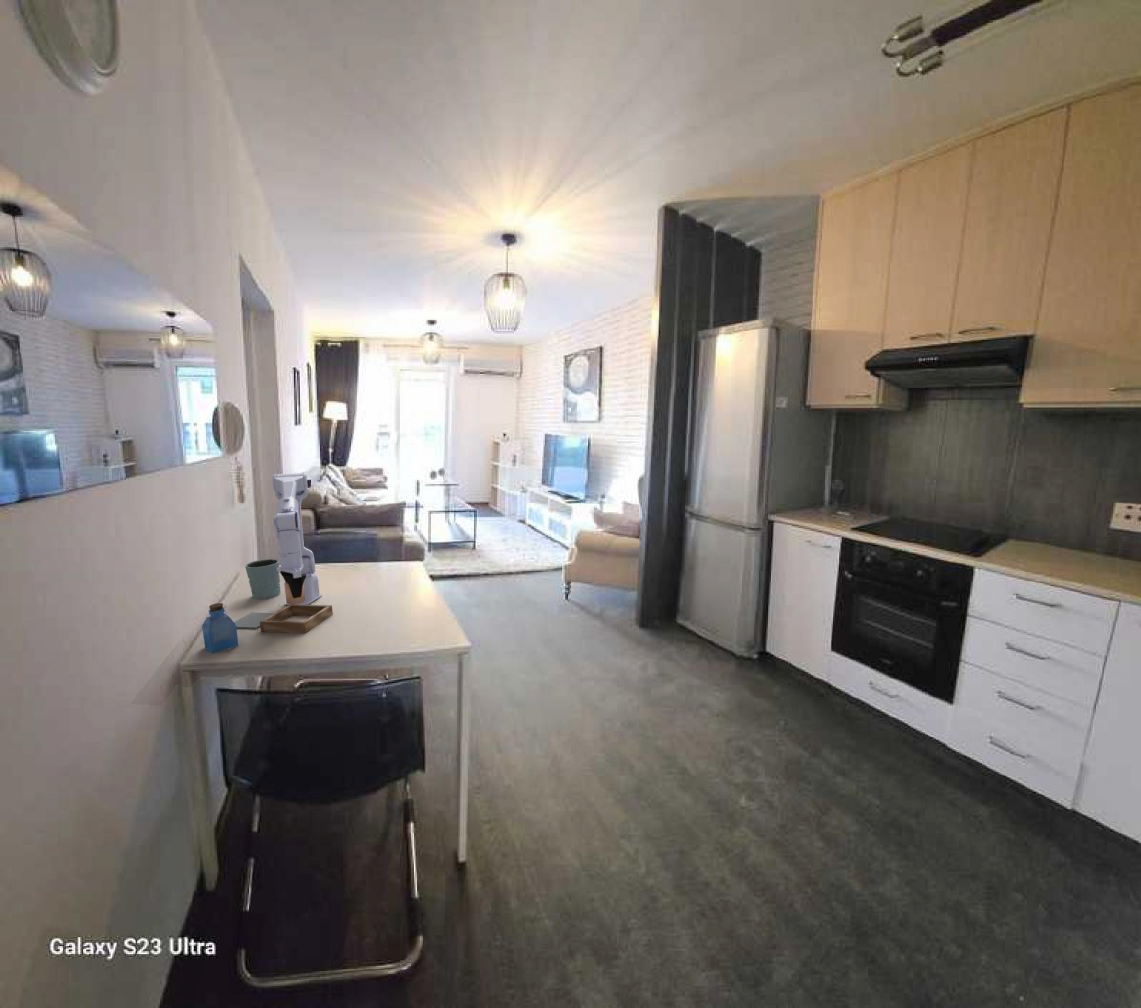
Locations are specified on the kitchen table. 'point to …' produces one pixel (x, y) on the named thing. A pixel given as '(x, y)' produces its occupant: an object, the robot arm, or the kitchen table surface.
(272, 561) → the green pot
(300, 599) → the terracotta pot
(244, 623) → the slate mat
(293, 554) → the robot arm
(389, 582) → the kitchen table surface
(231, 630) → the perfume bottle
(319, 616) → the wooden square frame
